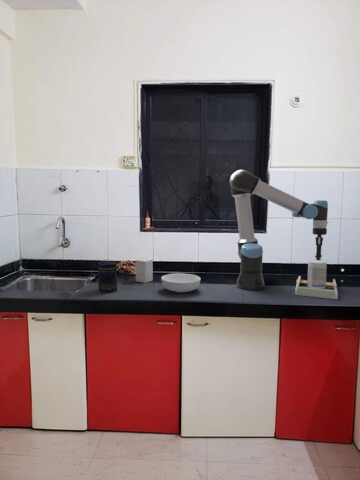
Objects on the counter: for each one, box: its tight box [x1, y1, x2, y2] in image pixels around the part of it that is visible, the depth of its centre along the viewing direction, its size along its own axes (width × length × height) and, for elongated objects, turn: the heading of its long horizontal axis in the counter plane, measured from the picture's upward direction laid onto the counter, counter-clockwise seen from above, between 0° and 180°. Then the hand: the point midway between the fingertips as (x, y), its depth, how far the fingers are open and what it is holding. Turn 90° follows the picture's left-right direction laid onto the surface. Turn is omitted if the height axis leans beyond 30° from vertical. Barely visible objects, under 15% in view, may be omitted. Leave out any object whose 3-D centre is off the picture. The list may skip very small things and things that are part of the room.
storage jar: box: [97, 260, 118, 294], centre depth 185 cm, size 10×10×15 cm
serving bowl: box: [160, 272, 201, 293], centre depth 187 cm, size 21×21×7 cm
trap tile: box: [295, 279, 338, 287], centre depth 205 cm, size 22×7×1 cm, turn 68°
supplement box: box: [135, 258, 154, 284], centre depth 206 cm, size 7×7×13 cm
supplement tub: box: [306, 259, 327, 289], centre depth 195 cm, size 10×10×15 cm
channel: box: [294, 275, 339, 300], centre depth 193 cm, size 20×34×4 cm, turn 158°
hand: (318, 267), depth 205 cm, fingers closed
